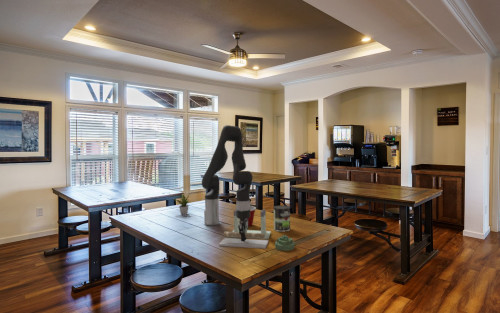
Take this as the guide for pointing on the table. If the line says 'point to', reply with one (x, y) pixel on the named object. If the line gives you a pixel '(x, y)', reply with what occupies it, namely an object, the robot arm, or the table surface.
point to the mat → (244, 243)
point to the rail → (250, 235)
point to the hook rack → (263, 230)
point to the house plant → (183, 204)
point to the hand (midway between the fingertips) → (243, 240)
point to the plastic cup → (251, 215)
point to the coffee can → (281, 218)
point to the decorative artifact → (284, 243)
